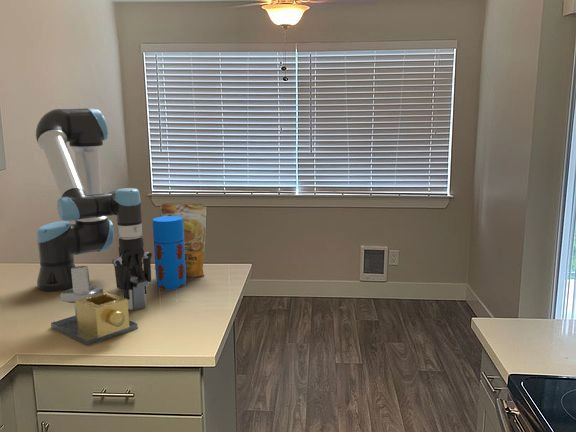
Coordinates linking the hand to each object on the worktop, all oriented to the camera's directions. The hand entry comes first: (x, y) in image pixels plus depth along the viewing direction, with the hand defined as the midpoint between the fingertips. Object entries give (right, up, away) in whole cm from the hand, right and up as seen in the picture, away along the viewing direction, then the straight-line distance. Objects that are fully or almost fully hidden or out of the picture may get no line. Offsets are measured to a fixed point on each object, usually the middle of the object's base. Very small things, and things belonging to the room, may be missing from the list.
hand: (136, 306), depth 180 cm
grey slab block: (0, 0, 0) cm, 0 cm away
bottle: (-8, +4, +23) cm, 24 cm away
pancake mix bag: (+9, +6, +36) cm, 38 cm away
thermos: (+7, +4, +23) cm, 24 cm away
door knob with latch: (-7, -4, -17) cm, 19 cm away
